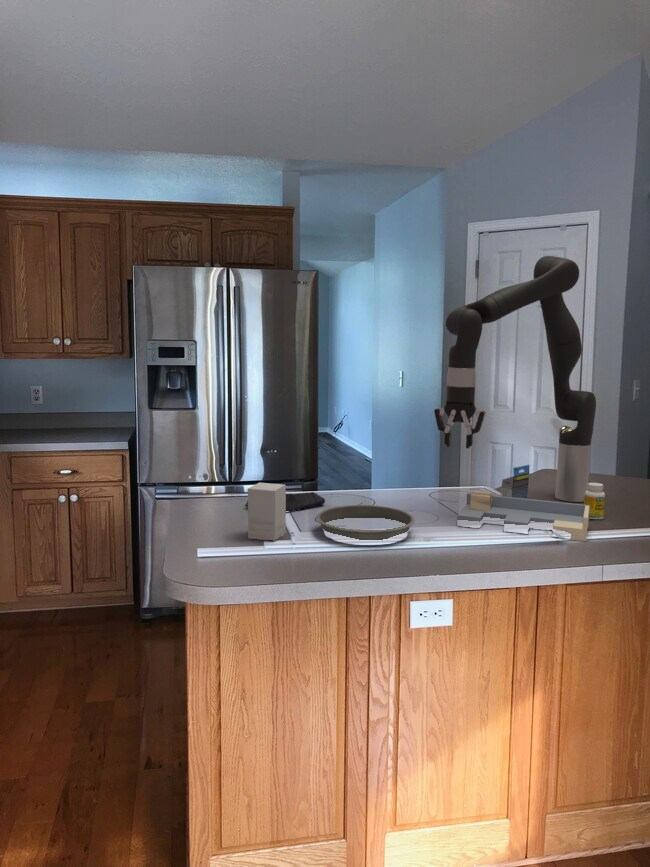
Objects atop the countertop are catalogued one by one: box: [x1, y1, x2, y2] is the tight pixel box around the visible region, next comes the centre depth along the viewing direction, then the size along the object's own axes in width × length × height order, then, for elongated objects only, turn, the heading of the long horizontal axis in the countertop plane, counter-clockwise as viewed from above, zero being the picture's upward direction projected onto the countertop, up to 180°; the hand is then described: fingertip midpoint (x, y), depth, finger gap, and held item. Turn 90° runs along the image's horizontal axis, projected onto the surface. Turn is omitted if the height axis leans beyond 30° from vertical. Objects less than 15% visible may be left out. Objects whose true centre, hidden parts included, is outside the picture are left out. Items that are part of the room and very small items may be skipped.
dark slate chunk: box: [244, 491, 326, 512], centre depth 211 cm, size 15×22×5 cm
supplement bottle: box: [583, 482, 606, 520], centre depth 204 cm, size 5×5×10 cm
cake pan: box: [315, 504, 416, 540], centre depth 186 cm, size 25×25×4 cm
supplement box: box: [247, 482, 287, 541], centre depth 180 cm, size 7×7×13 cm
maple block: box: [470, 490, 493, 511], centre depth 200 cm, size 5×5×4 cm
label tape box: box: [500, 464, 530, 499], centre depth 215 cm, size 9×4×12 cm, turn 135°
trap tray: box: [456, 492, 590, 542], centre depth 194 cm, size 14×32×6 cm, turn 69°
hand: (458, 446), depth 201 cm, fingers open, 4 cm apart
